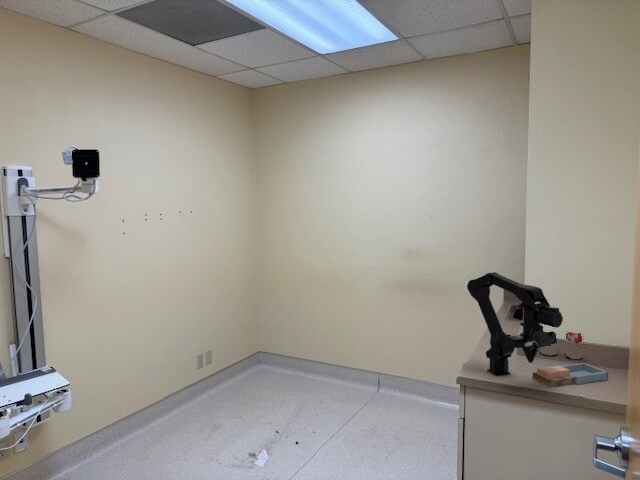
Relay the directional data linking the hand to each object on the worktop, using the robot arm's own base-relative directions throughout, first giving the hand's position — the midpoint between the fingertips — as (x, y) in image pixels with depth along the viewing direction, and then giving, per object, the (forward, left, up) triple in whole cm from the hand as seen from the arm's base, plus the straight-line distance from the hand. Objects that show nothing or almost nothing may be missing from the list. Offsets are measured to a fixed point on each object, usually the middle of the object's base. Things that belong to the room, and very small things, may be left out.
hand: (530, 362), depth 164 cm
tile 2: (+13, 0, -6) cm, 14 cm away
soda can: (+39, +18, -9) cm, 44 cm away
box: (+24, 0, -8) cm, 25 cm away
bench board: (+11, 0, -8) cm, 13 cm away
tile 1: (+8, 0, -6) cm, 10 cm away
